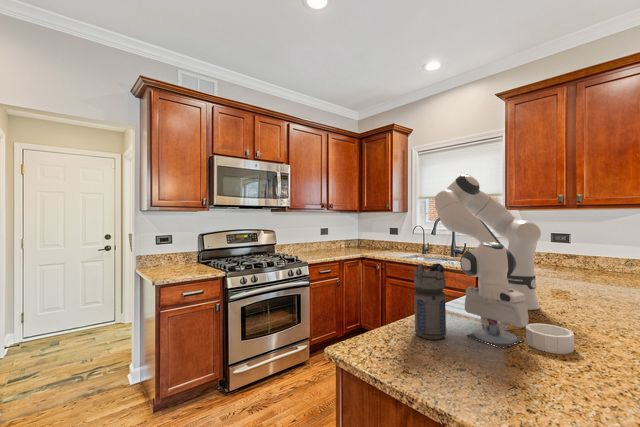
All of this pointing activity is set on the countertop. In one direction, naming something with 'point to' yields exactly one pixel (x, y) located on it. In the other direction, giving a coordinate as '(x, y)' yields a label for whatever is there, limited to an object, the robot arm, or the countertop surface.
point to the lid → (495, 336)
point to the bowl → (550, 338)
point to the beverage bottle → (430, 302)
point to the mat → (492, 343)
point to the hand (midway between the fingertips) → (494, 332)
